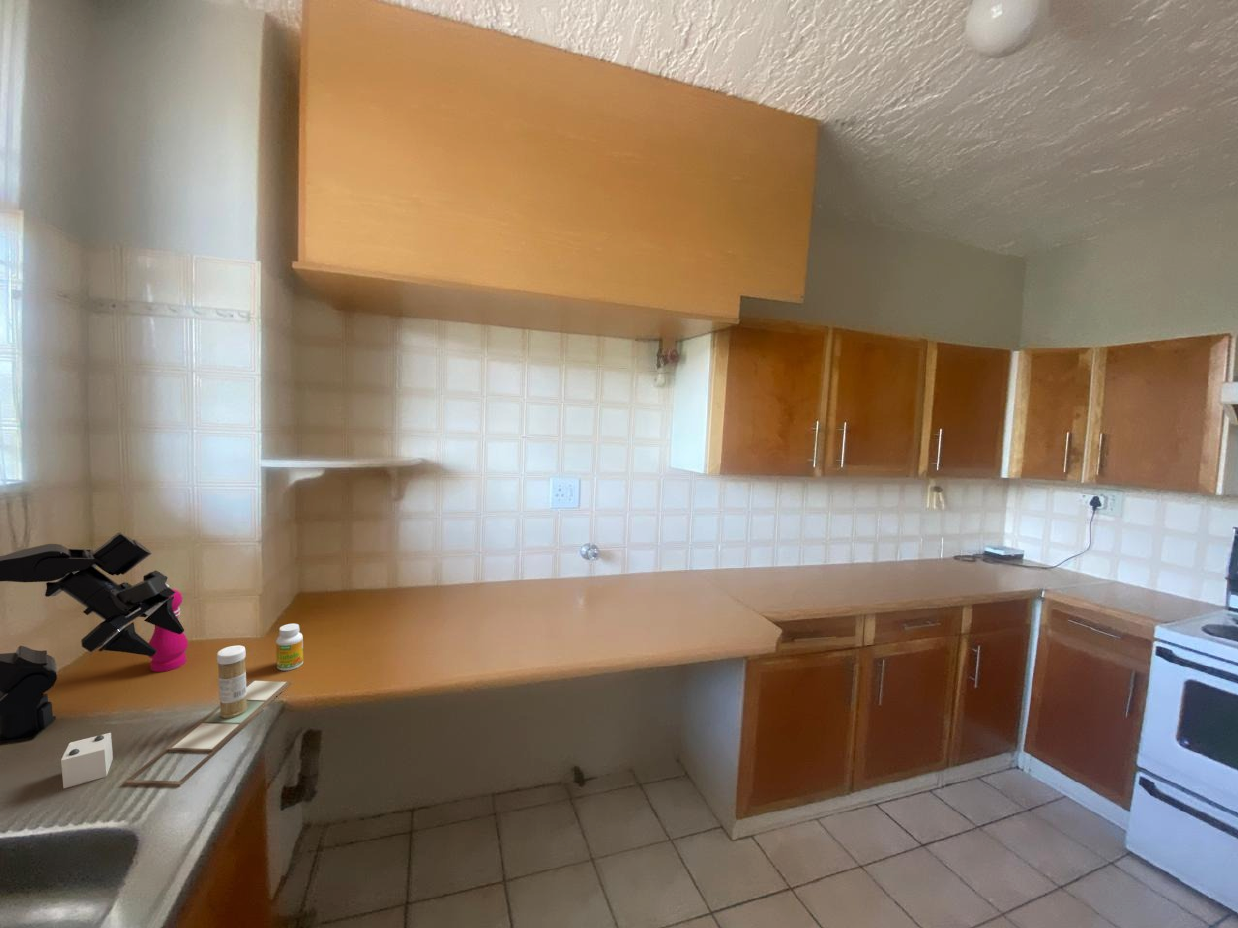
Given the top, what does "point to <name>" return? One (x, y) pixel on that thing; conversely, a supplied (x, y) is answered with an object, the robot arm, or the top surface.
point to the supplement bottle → (289, 647)
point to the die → (87, 760)
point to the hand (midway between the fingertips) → (169, 642)
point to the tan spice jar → (232, 681)
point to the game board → (215, 730)
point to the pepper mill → (168, 643)
